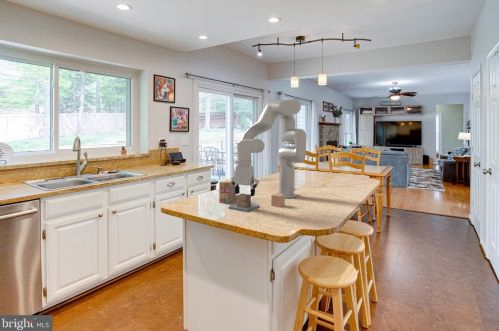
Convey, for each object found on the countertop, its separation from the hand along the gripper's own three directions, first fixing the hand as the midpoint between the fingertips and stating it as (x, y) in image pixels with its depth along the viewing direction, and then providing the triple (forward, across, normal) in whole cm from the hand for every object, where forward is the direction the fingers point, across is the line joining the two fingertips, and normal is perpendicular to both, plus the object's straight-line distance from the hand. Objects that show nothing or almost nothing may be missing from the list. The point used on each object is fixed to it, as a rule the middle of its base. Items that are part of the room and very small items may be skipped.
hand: (245, 194), depth 167 cm
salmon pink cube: (+8, +13, +14) cm, 20 cm away
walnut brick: (+6, 0, -1) cm, 6 cm away
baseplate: (+7, 0, -1) cm, 7 cm away
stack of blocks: (+8, -20, +12) cm, 24 cm away
